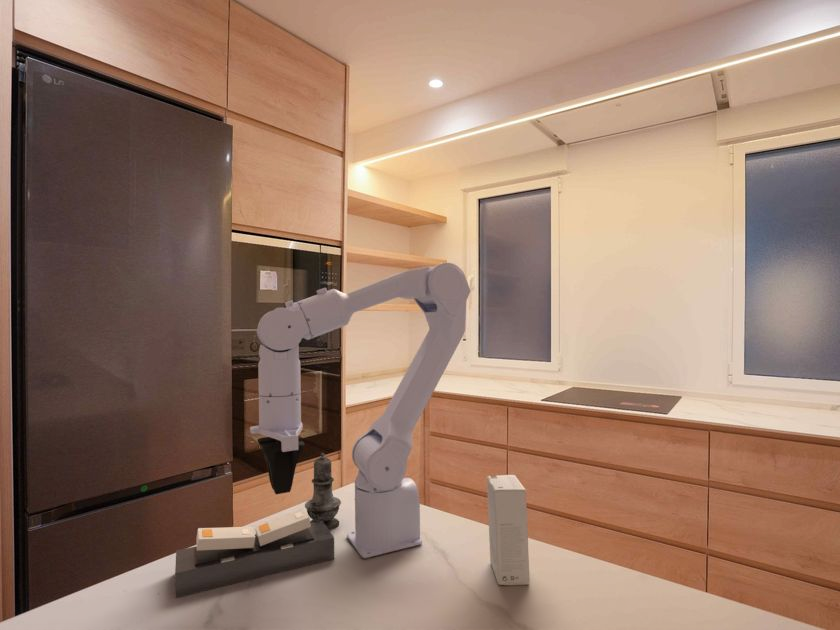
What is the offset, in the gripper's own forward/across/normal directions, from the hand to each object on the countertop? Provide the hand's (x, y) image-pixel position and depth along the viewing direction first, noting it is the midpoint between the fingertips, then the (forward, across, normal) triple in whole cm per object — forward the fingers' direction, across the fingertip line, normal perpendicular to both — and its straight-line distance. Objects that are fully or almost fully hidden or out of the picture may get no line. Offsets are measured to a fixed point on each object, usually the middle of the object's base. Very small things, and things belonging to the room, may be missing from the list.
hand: (281, 489), depth 67 cm
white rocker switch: (+5, 0, -7) cm, 9 cm away
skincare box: (+10, +18, +26) cm, 33 cm away
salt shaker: (+10, -8, +8) cm, 16 cm away
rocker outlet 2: (+5, 0, 0) cm, 5 cm away
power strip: (+10, 0, -3) cm, 10 cm away
